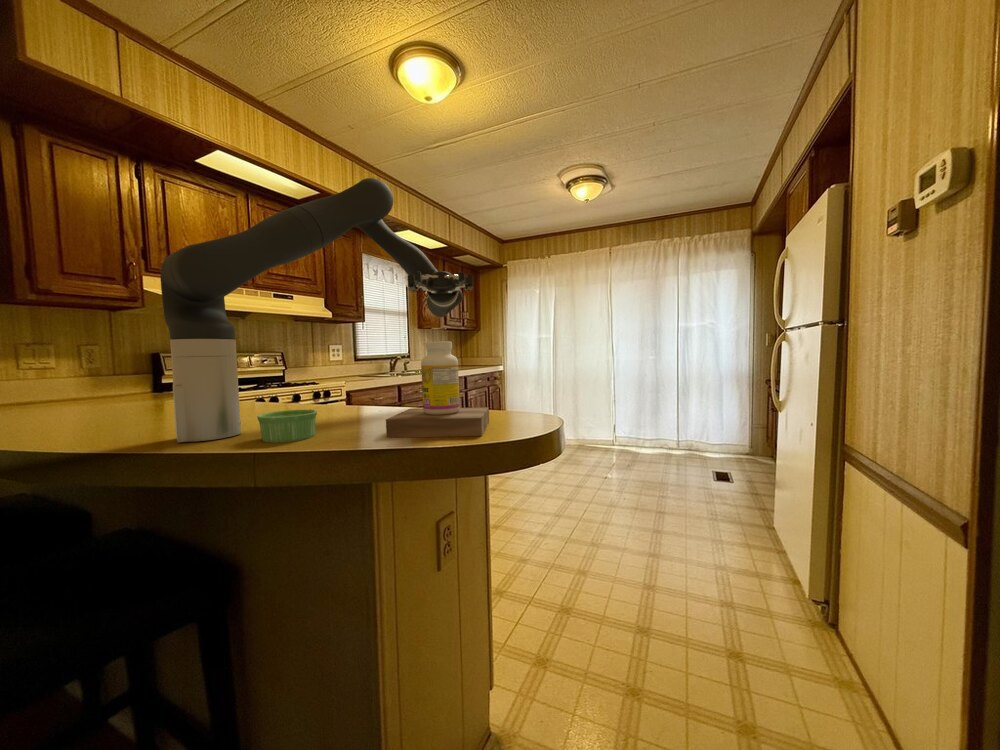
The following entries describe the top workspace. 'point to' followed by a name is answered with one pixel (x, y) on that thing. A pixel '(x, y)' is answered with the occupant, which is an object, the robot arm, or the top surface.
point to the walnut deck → (438, 423)
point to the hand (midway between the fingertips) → (439, 276)
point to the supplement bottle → (440, 379)
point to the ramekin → (287, 425)
